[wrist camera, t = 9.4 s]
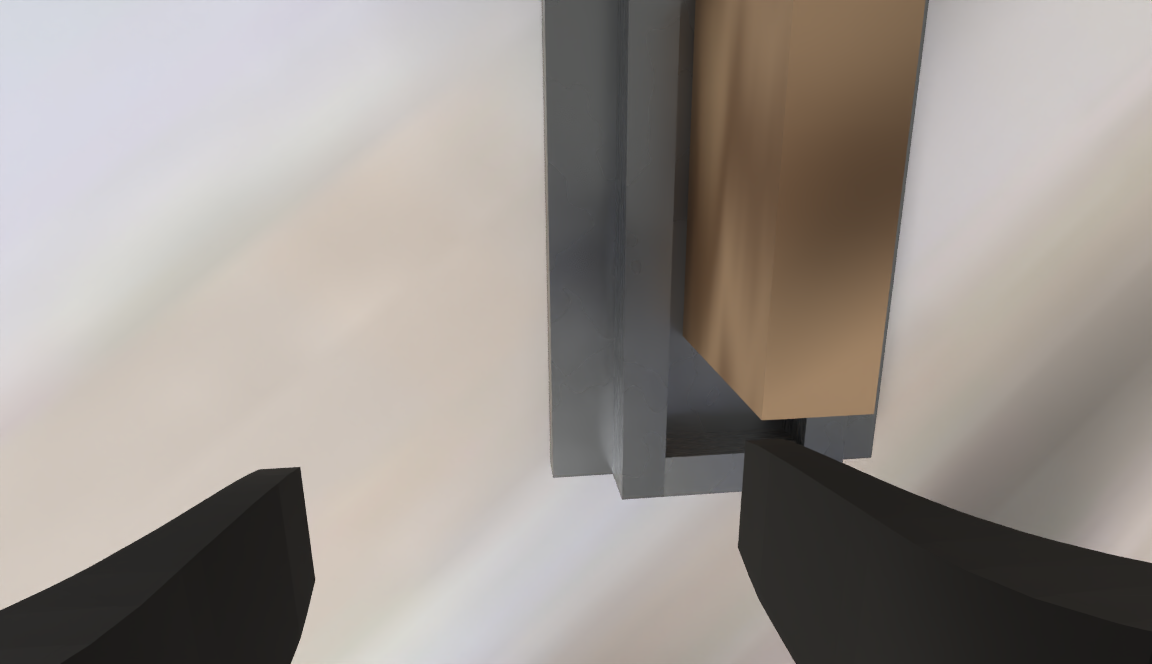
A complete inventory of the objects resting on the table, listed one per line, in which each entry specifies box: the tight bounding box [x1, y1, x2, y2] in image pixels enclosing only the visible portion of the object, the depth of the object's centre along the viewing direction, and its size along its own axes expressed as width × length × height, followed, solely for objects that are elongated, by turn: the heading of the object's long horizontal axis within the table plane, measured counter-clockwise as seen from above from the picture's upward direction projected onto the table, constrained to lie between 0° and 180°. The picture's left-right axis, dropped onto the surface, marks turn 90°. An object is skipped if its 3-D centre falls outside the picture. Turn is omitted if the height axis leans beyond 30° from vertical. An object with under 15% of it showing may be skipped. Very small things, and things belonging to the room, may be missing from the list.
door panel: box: [683, 0, 926, 420], centre depth 16 cm, size 9×2×6 cm, turn 0°
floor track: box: [542, 0, 929, 499], centre depth 18 cm, size 18×10×2 cm, turn 0°
